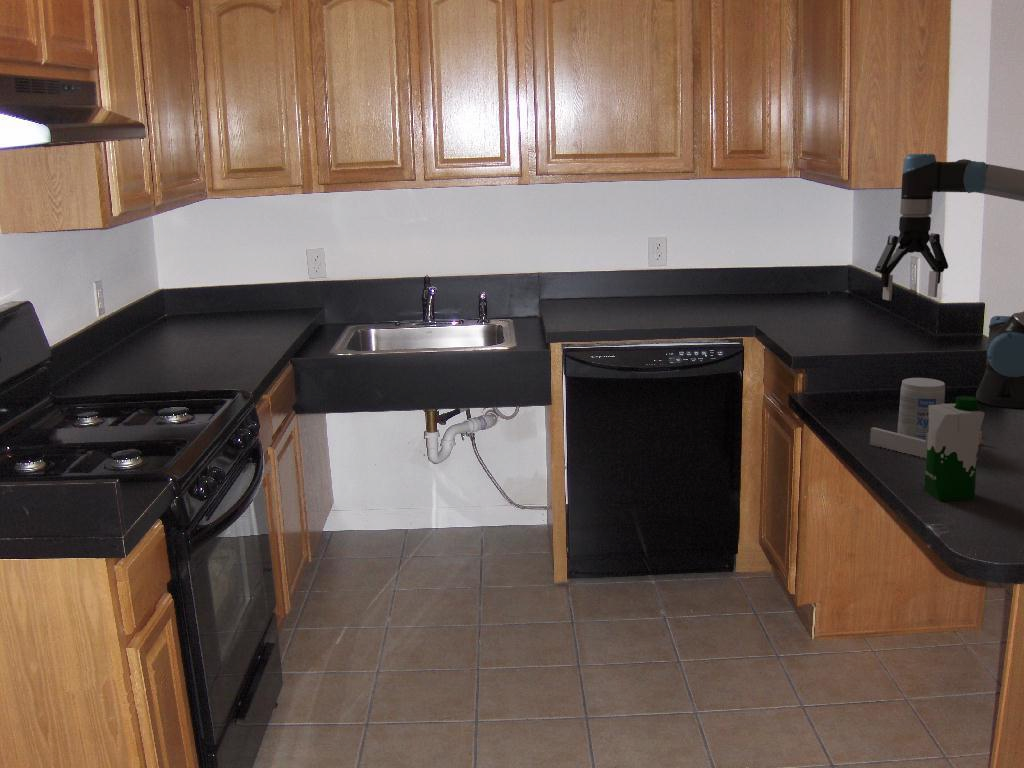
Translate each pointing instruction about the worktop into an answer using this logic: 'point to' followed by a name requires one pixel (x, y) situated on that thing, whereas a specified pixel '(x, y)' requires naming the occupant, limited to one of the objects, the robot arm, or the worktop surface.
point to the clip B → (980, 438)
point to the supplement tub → (918, 405)
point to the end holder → (899, 442)
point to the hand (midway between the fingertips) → (909, 298)
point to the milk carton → (953, 449)
